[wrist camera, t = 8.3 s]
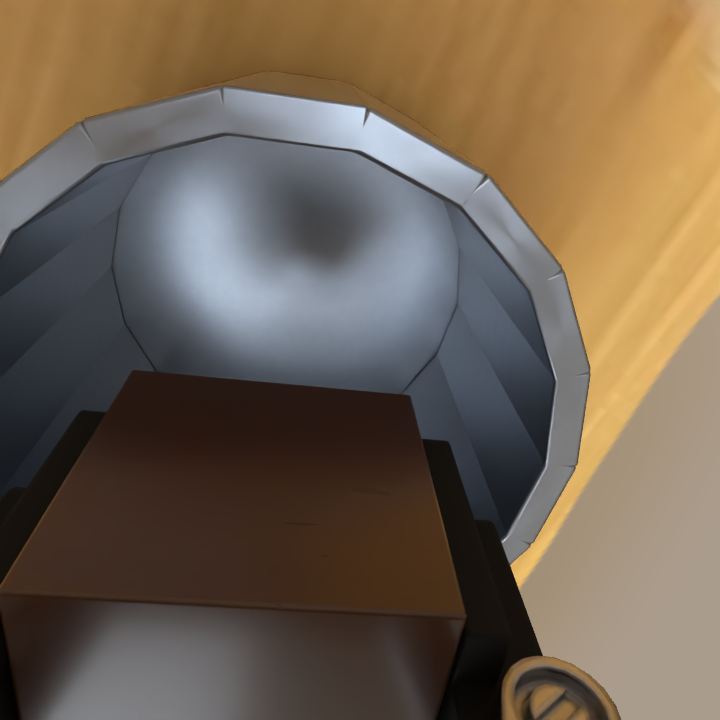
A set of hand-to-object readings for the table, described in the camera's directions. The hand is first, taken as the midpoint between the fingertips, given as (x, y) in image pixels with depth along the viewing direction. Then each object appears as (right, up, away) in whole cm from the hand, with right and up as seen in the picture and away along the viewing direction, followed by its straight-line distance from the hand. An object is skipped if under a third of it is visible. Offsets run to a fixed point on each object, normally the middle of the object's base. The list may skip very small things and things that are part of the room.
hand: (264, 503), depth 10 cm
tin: (-1, +5, +10) cm, 11 cm away
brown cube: (0, 0, 0) cm, 0 cm away
